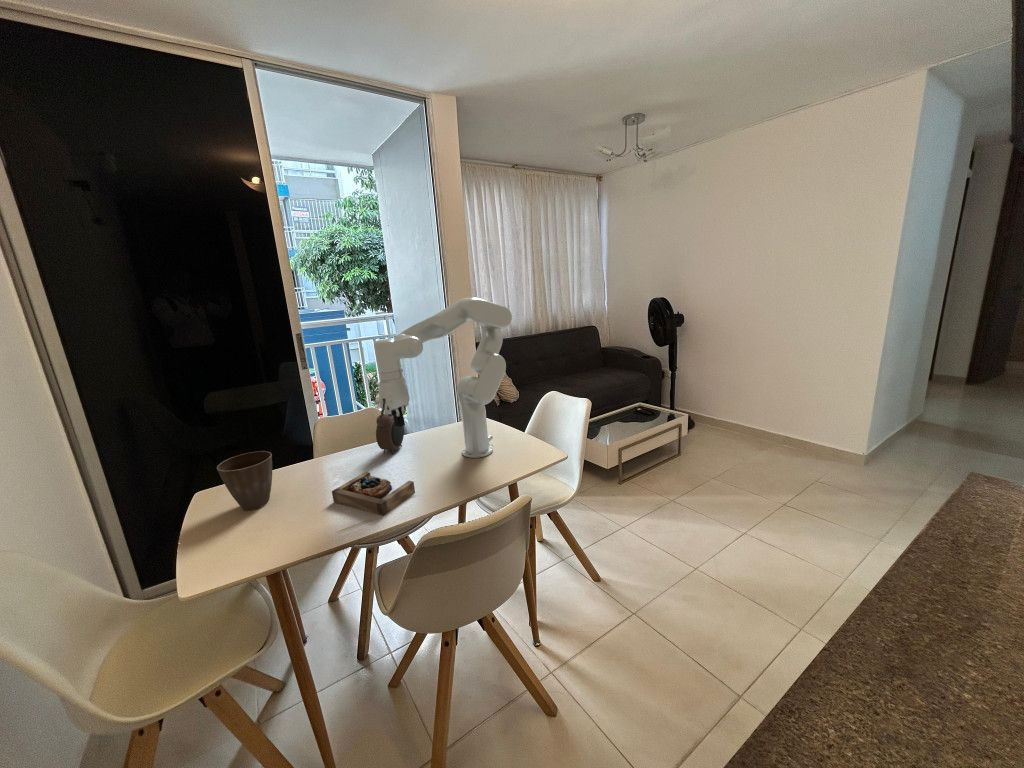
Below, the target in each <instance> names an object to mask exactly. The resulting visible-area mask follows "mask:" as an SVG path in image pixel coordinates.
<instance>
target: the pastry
mask: <svg viewBox="0 0 1024 768" xmlns="http://www.w3.org/2000/svg"><path fill="white" fill-rule="evenodd" d="M360 480H361V481H358V482H356V483H355V484H353V485H352V486H351V487H350V492H354V493H358V494H362V495H366V496H370V497H374V498H378V499H383V498H384V497H386V496H387V495H389V494H390V493H391V490H393V485H392V483H391V481H390V480H388V479H386V478H382V477H381V478H380V477H377V476H374V475H371V476H369V477H362V478H361V479H360Z"/></svg>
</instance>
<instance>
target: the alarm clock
mask: <svg viewBox="0 0 1024 768" xmlns="http://www.w3.org/2000/svg"><path fill="white" fill-rule="evenodd" d="M394 411H395V410H394ZM375 423H376V427H375V428H376V429H375V438H376V443H377V444H376V445H378V447H379V448H380V450H383V454H385V453H386V451H391V455H394V451H395V450H397V449H399V448H401V447H403V445H402V444H403V441H404V437H405V436H404V435H405V430H404V426H402V427H398V426H395V422H394V417H393V416H392V415H391V414H385V409H384V410H383V409H381V411H380V415H379V416H377V418H376V422H375Z"/></svg>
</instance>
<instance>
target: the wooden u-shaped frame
mask: <svg viewBox="0 0 1024 768" xmlns="http://www.w3.org/2000/svg"><path fill="white" fill-rule="evenodd" d="M369 476H372V475H371V472H369V471H364V472H363V473H361V474H359V475H357V476H356V477H354V478H352V479H350V480H349V481H346V483H344V484H341V485H340V486H338V487H336V488H335V489H333V490H331V494H332V499H333V503H335V504H339V505H342V506H346V507H350V508H353V509H357V510H361V511H365V512H369V513H372V514H376V515H380V516H385V515H387V514H388V513H389V512H391V510H393V509H395V508H396V507H398V506H399V505H400V504H401V503H403V502H404V501H406V500H407V499H408V498H410V497H411V496H412V495H414V494H415V493H416V491H415V483H414V481H412V480H408V481H406V482H405V483H403V484H402V485H400V486H399V487H398V488H396V489H394V490H393V491H392V492H391V491H390V492H389V493H388V494H387V495H385V496H384V497H382V498H381V499H378V498H374V497H370V496H366V495H362V494H358V493H354V492H350V487H351V486H352V485H353V484H355V483H356V482H358V481H361V480H360V479H361V478H362V477H369Z"/></svg>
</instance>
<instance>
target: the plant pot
mask: <svg viewBox="0 0 1024 768" xmlns="http://www.w3.org/2000/svg"><path fill="white" fill-rule="evenodd" d="M272 458H273V455H272V452H270V451H266V450H262V451H261V450H259V451H251V452H247V453H246V452H245V453H242V454H239V455H235V456H232V457H230V458H228V459H225V460H223V461H222V462H220V463H219V464H218V465H216V470H217V472H218V474H219V477H220V478H221V481H222V482H223V484H224V486H225V487H226V490H228V492H229V494H230V495H231V496H232V498H233V499H234V500H235V502H236V503H237V504H238V505H239V506H240V507H241V509H243V510H244V511H252V510H251V509H254V510H257V509H260V508H262V507H264V506H266V505H267V504H268V503H269V502H268V501H270V497H271V493H272V492H271V491H272V483H273V459H272ZM267 502H268V503H267ZM266 503H267V504H266ZM265 504H266V505H265ZM263 505H264V506H263ZM261 506H262V507H261ZM259 507H260V508H259ZM256 508H257V509H256Z"/></svg>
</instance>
